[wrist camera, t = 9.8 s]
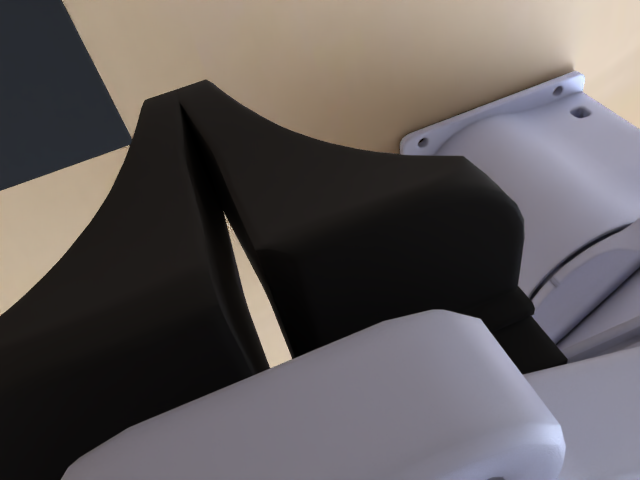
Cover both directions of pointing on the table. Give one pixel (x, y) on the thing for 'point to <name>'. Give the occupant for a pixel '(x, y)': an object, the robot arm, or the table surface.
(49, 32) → the placemat
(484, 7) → the table surface
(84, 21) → the table surface
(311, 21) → the table surface
